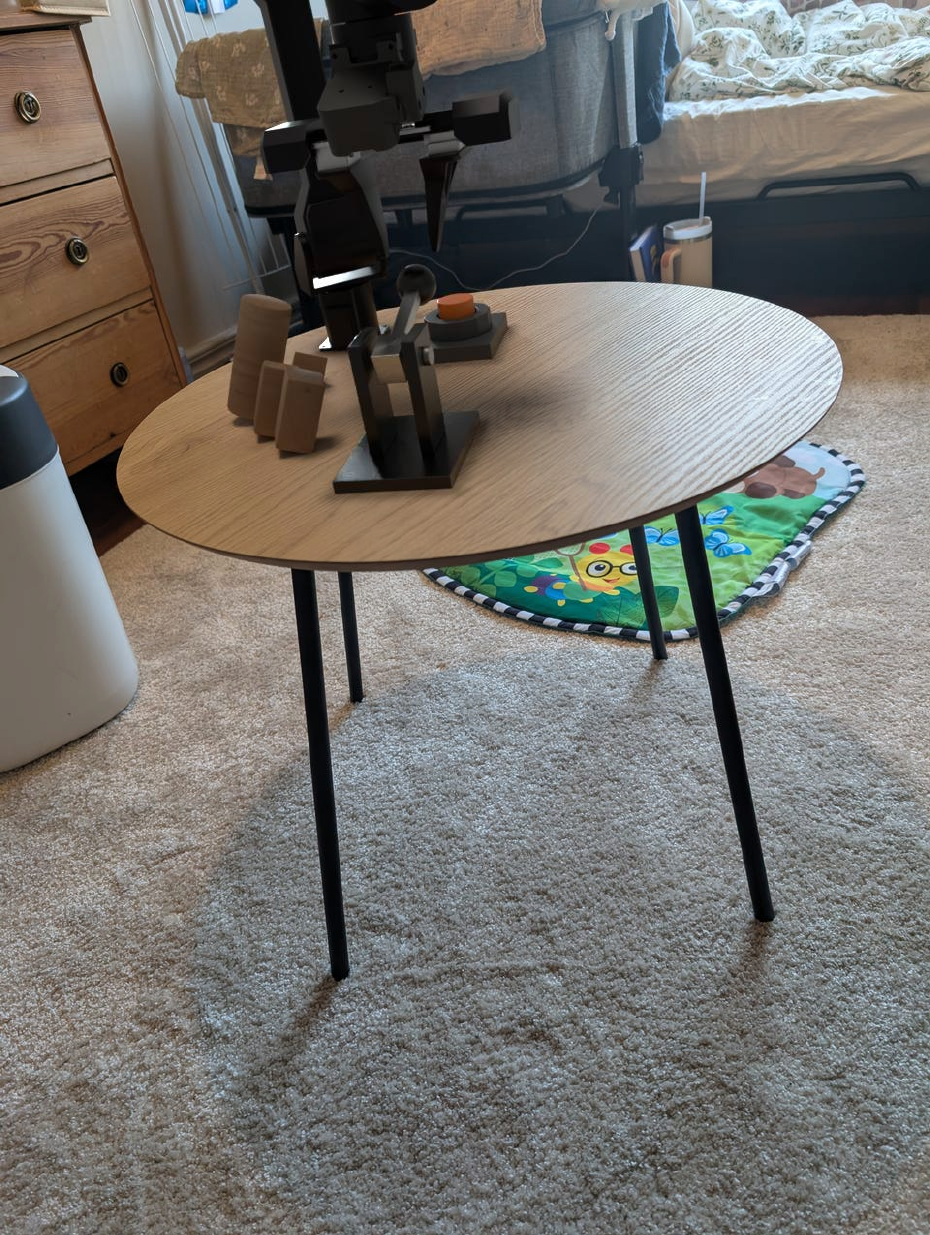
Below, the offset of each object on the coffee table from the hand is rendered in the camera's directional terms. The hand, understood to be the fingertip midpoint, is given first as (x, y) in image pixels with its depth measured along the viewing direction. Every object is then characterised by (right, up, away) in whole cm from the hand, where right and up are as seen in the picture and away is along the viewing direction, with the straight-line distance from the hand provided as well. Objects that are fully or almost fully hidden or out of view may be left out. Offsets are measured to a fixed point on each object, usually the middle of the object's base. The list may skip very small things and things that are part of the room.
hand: (410, 254), depth 71 cm
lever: (0, -7, -1) cm, 7 cm away
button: (+4, +1, +19) cm, 19 cm away
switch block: (+4, -1, +20) cm, 21 cm away
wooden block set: (-12, -11, +10) cm, 19 cm away
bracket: (0, -16, 0) cm, 16 cm away
